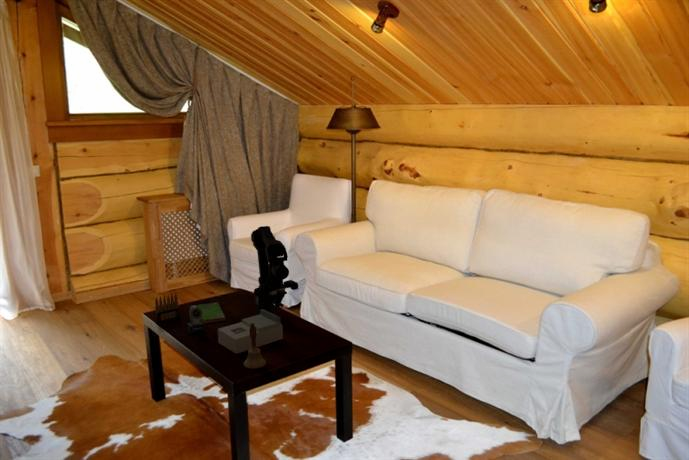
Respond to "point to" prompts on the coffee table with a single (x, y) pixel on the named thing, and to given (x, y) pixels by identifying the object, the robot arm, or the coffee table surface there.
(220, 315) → the game box
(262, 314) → the lid
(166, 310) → the ammunition clip
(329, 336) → the coffee table surface
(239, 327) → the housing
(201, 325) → the watch
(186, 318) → the coffee table surface
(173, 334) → the coffee table surface
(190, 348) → the coffee table surface
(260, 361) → the hand bell
